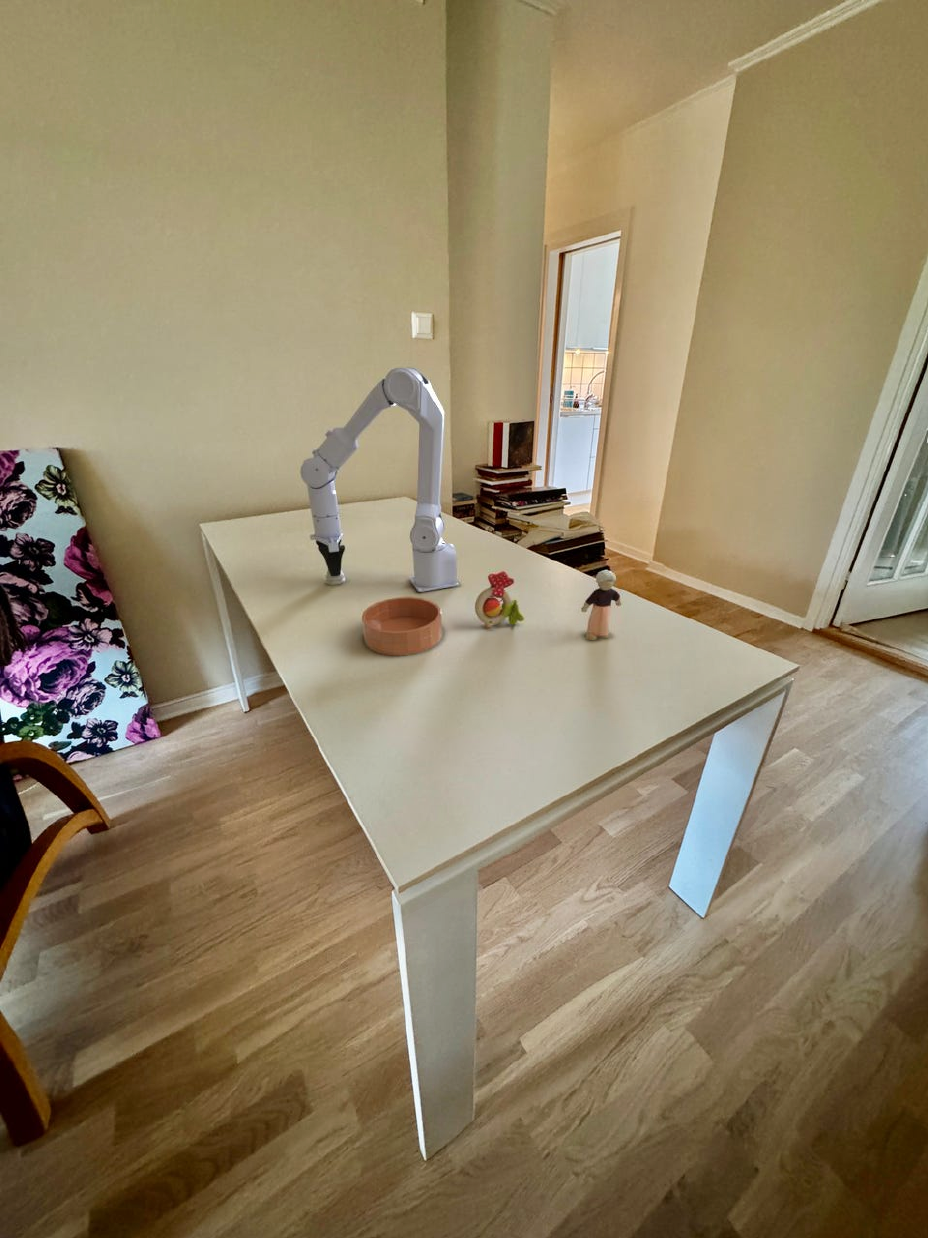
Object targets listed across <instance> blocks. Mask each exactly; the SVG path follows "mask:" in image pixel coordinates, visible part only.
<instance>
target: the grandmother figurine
mask: <svg viewBox="0 0 928 1238" xmlns="http://www.w3.org/2000/svg"><path fill="white" fill-rule="evenodd" d="M616 581H617V577H616V573H614V572H612V571H611V570H608V569H604V570H601V571H599V572H597V574H596V575H595V582H596V583H597V586H598V588H596V589H595V590H593V591H592V593H591V594H589V596H588V597H587V598H586V600H585V601H584V604H583V606H582V607H581V608H580V611H581V612H582V613H586V612H588V609H589V608H590V606H592V608H591V611H590V615H589V616H588V617H589V618H588V622H587V628H586V632H585V634H584V635H585V638H586V639H587V640H589V641H596V640H597V639H598V637H599V638H602V639H607V638H609V637H610V633H609V632H610V611H611V606H612V601H614V603H615V606H616V607H620V606H621V605H622V601H621V595H620V593H619V592H618V591H617V590H615V589H613V586H614V584H615V582H616Z"/></svg>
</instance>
